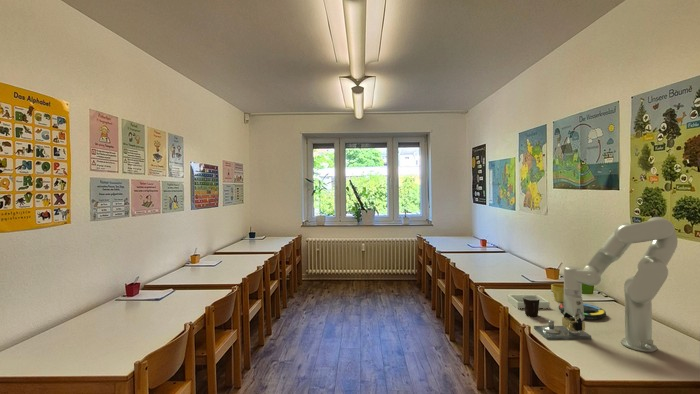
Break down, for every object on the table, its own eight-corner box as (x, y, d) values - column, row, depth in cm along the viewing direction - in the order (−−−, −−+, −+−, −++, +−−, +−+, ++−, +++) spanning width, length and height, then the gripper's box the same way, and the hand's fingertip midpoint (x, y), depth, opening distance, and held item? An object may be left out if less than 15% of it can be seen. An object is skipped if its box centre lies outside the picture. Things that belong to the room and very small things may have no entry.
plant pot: (565, 298, 233) (564, 283, 233) (573, 303, 223) (573, 287, 223) (548, 298, 234) (548, 283, 234) (556, 303, 224) (555, 287, 224)
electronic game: (614, 322, 191) (614, 313, 191) (567, 320, 196) (567, 311, 196) (594, 308, 214) (594, 300, 214) (552, 306, 218) (552, 299, 218)
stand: (582, 336, 173) (581, 323, 173) (571, 337, 173) (570, 323, 173) (575, 332, 178) (575, 319, 178) (565, 332, 179) (565, 319, 179)
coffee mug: (525, 311, 211) (524, 294, 210) (541, 314, 205) (541, 297, 205) (520, 317, 202) (519, 299, 201) (536, 320, 196) (536, 302, 196)
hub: (563, 336, 175) (563, 324, 175) (547, 336, 175) (546, 324, 175) (555, 329, 183) (555, 318, 183) (539, 329, 183) (539, 318, 183)
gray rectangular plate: (591, 338, 171) (591, 335, 171) (546, 339, 172) (546, 336, 172) (575, 328, 184) (575, 325, 184) (534, 328, 185) (533, 325, 185)
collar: (585, 330, 172) (584, 321, 172) (570, 330, 173) (570, 322, 172) (576, 325, 179) (576, 316, 179) (562, 325, 180) (562, 316, 179)
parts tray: (549, 308, 214) (549, 302, 214) (517, 308, 215) (517, 302, 215) (536, 300, 230) (536, 294, 230) (507, 300, 231) (507, 294, 231)
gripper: (591, 297, 167) (591, 333, 167) (570, 287, 184) (570, 320, 184) (575, 297, 167) (575, 333, 168) (555, 287, 184) (555, 320, 185)
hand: (572, 326), depth 176 cm, fingers open, 9 cm apart
